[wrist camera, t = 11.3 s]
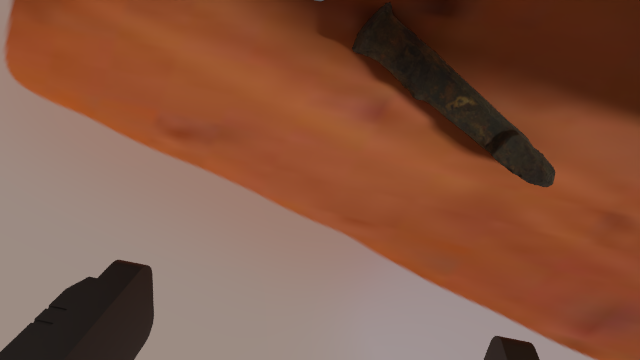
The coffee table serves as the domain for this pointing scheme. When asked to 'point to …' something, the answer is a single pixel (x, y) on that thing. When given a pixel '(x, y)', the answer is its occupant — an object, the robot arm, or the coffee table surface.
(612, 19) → the coffee table surface
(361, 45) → the hand tool
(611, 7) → the coffee table surface
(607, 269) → the coffee table surface
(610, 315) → the coffee table surface
